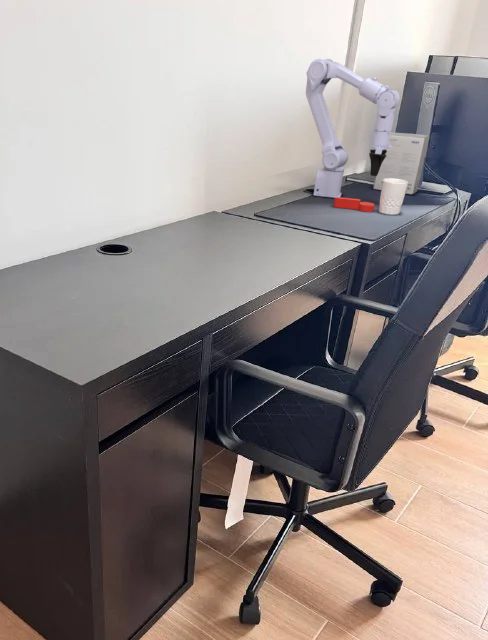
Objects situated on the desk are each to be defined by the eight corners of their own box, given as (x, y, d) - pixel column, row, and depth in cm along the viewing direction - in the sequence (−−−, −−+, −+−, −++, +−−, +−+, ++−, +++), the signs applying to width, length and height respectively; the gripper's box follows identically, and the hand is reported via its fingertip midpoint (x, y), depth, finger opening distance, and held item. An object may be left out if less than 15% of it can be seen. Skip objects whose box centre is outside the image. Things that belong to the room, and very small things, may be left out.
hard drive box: (417, 192, 222) (431, 135, 211) (412, 195, 216) (426, 137, 206) (377, 186, 229) (388, 131, 218) (371, 189, 223) (383, 132, 213)
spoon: (373, 209, 195) (375, 199, 193) (373, 212, 191) (375, 203, 189) (334, 204, 198) (335, 195, 196) (332, 208, 194) (334, 198, 192)
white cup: (388, 216, 187) (395, 184, 182) (371, 210, 193) (377, 179, 188) (406, 214, 190) (413, 182, 185) (389, 208, 196) (395, 177, 191)
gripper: (395, 134, 185) (385, 178, 192) (394, 129, 197) (386, 171, 204) (372, 132, 187) (364, 176, 194) (373, 127, 199) (365, 169, 206)
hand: (374, 173), depth 199 cm, fingers open, 7 cm apart
